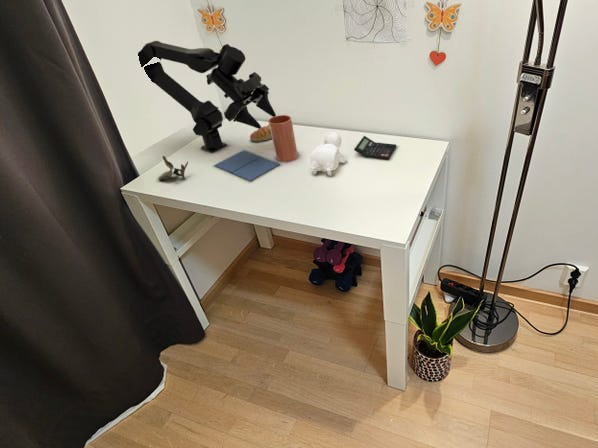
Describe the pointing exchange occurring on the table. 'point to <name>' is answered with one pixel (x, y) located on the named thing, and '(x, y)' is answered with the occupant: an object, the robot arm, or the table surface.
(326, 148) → the white lumpy rounded figurine
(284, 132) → the pencil cup
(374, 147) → the calculator
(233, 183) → the table surface
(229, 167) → the napkin
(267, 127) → the pastry
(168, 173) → the eagle figurine
